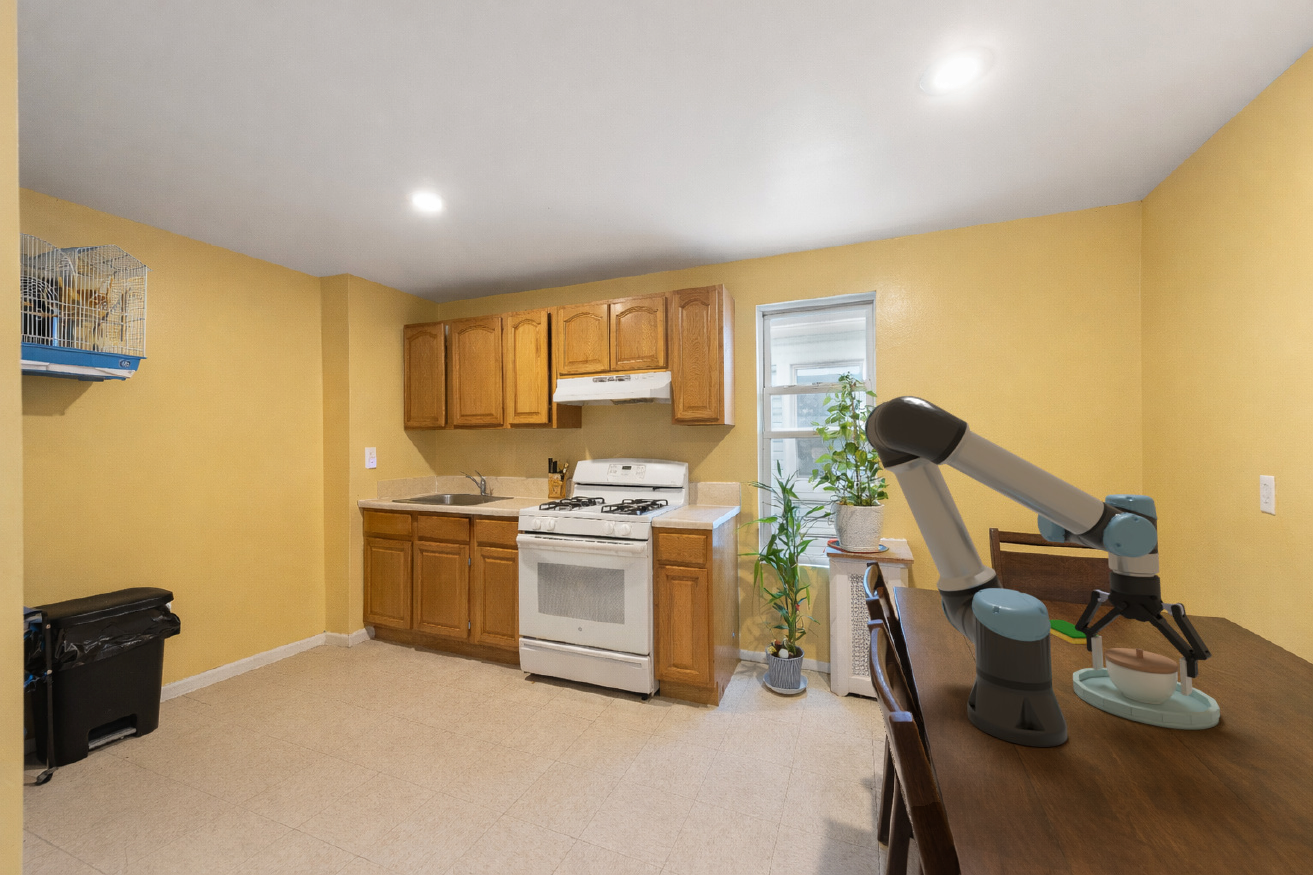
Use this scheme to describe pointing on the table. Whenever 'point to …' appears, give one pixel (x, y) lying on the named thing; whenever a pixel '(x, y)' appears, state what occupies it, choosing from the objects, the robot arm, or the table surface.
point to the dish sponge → (1067, 632)
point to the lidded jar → (1142, 674)
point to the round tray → (1171, 713)
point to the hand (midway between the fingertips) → (1140, 680)
